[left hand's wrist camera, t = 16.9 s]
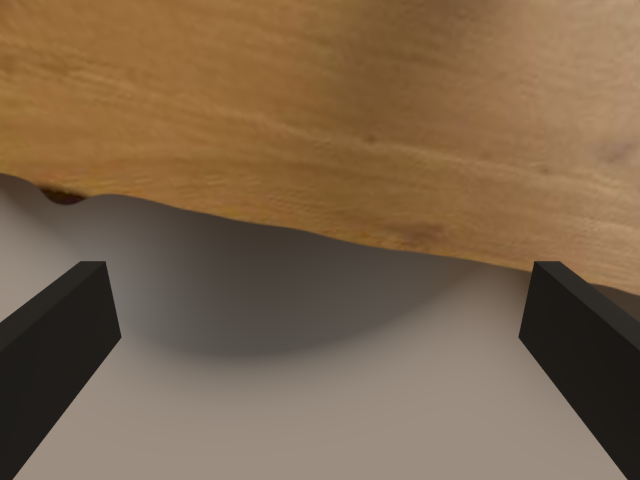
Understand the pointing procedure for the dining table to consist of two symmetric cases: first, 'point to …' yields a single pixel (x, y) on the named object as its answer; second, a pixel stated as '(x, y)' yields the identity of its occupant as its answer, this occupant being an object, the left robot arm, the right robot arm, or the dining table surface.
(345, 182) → the dining table surface
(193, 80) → the dining table surface
